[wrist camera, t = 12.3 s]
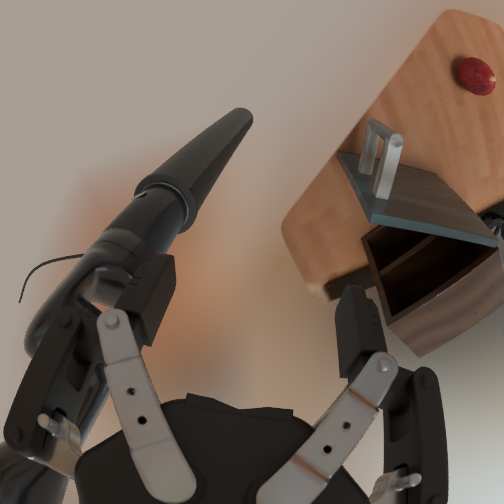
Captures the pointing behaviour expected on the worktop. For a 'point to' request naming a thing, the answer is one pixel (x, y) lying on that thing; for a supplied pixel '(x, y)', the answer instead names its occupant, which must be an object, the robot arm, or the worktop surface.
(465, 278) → the cupboard
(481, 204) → the worktop surface
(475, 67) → the onion
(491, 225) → the milk frother
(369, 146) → the door
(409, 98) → the worktop surface
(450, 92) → the worktop surface
